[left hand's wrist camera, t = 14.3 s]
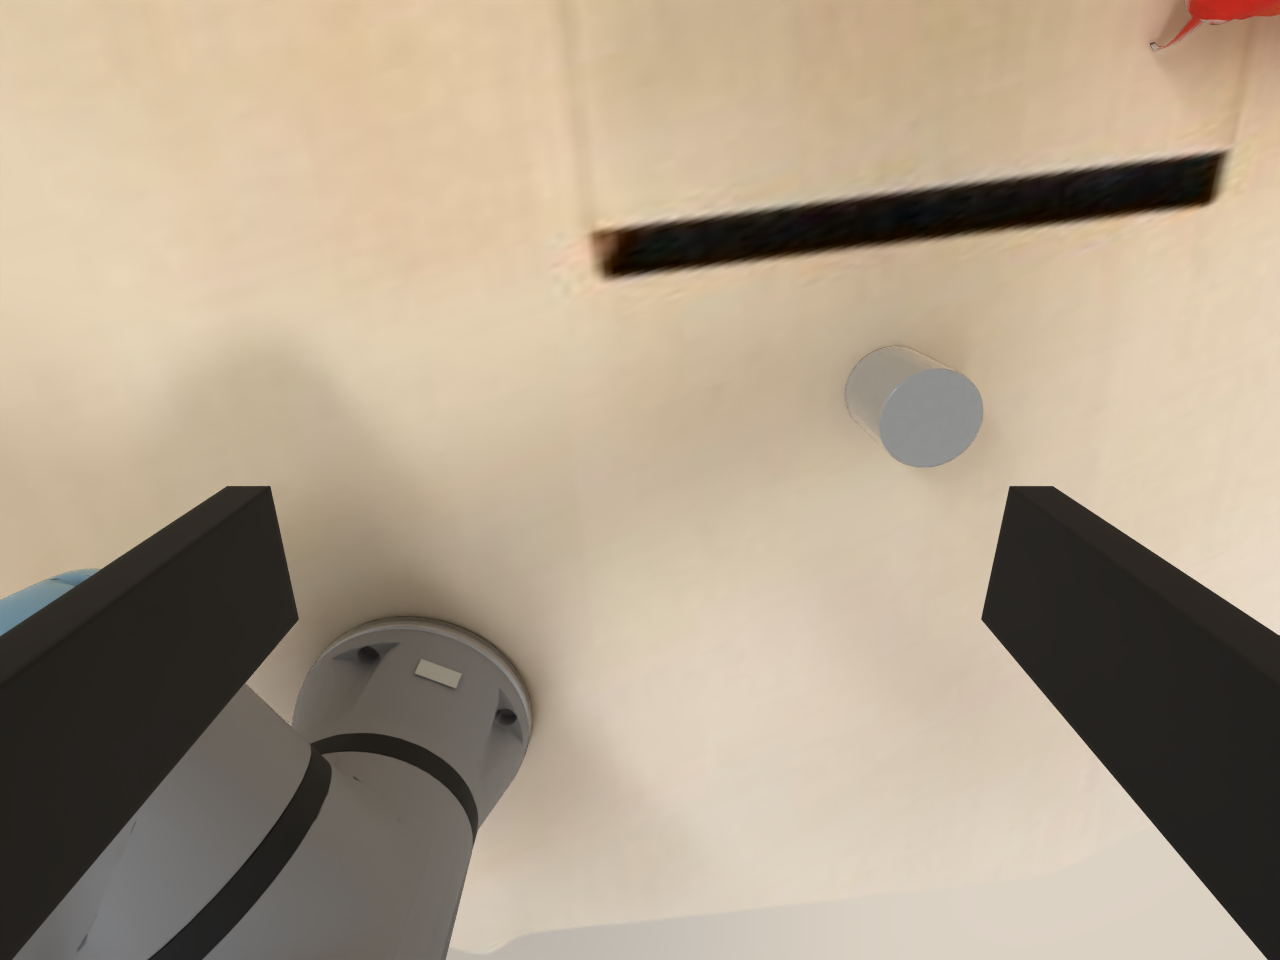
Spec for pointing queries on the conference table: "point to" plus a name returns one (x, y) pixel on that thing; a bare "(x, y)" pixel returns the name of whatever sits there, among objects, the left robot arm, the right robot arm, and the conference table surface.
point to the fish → (1221, 14)
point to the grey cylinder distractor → (914, 406)
